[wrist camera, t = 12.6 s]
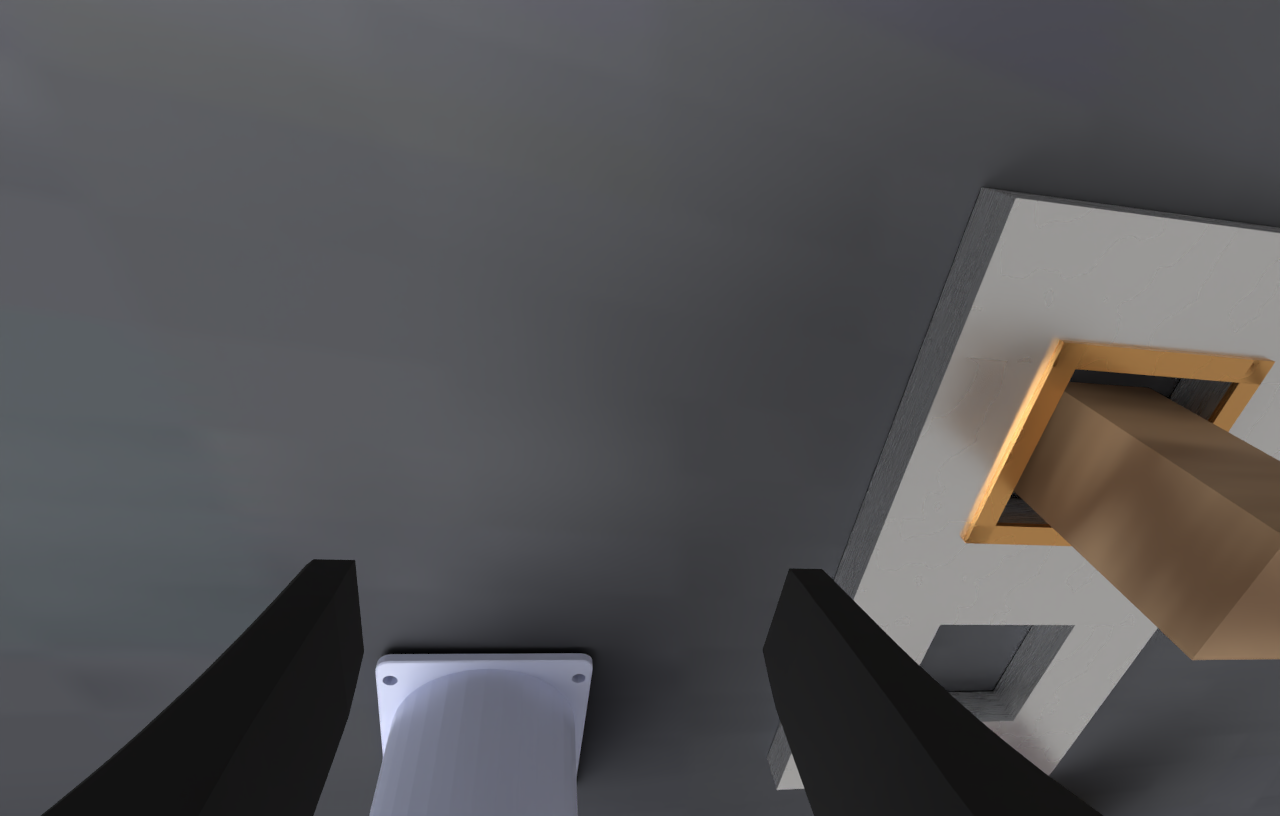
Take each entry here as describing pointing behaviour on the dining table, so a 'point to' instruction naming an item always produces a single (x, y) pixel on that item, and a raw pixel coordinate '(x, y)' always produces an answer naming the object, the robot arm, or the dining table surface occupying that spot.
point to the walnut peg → (1166, 515)
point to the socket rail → (1015, 420)
